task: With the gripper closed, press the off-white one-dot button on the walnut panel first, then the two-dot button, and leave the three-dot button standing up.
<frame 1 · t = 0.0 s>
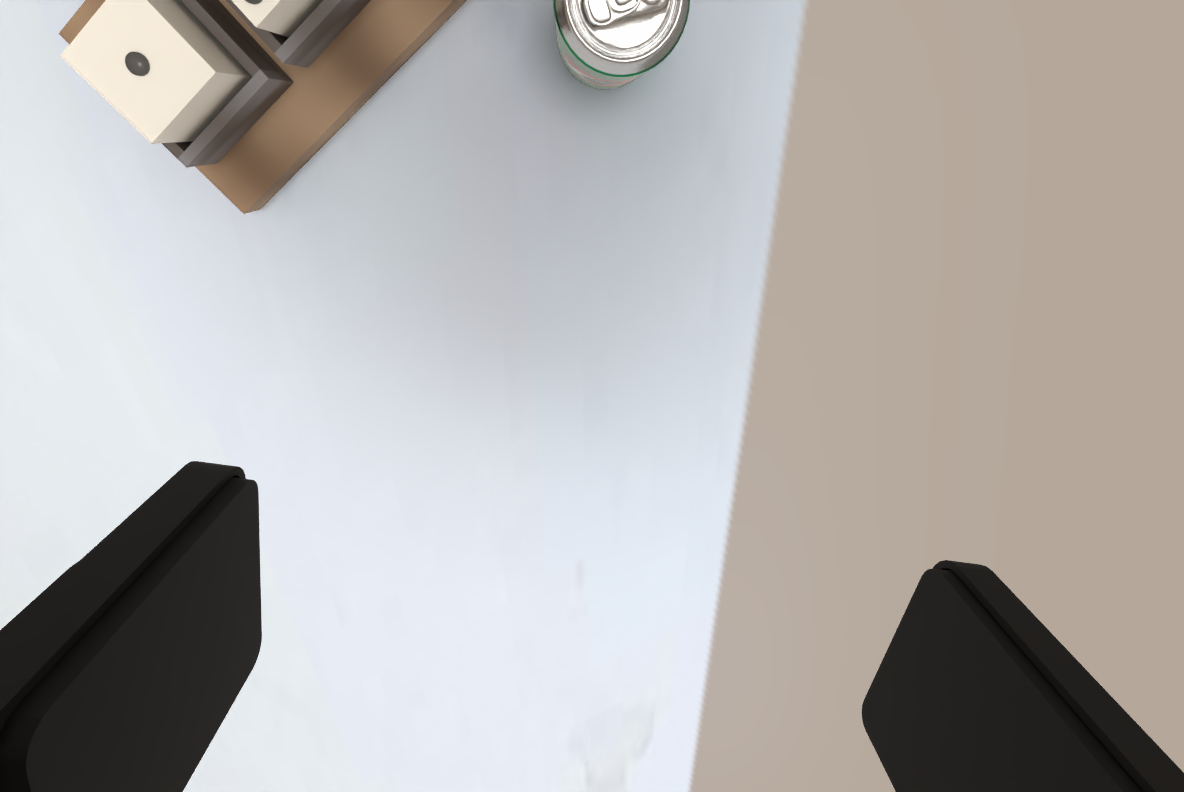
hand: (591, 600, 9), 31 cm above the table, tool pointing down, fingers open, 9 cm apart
soda can: (604, 37, 34), on the table
one dot button: (161, 67, 28), point 6 cm above the table, slide at 0.0 cm
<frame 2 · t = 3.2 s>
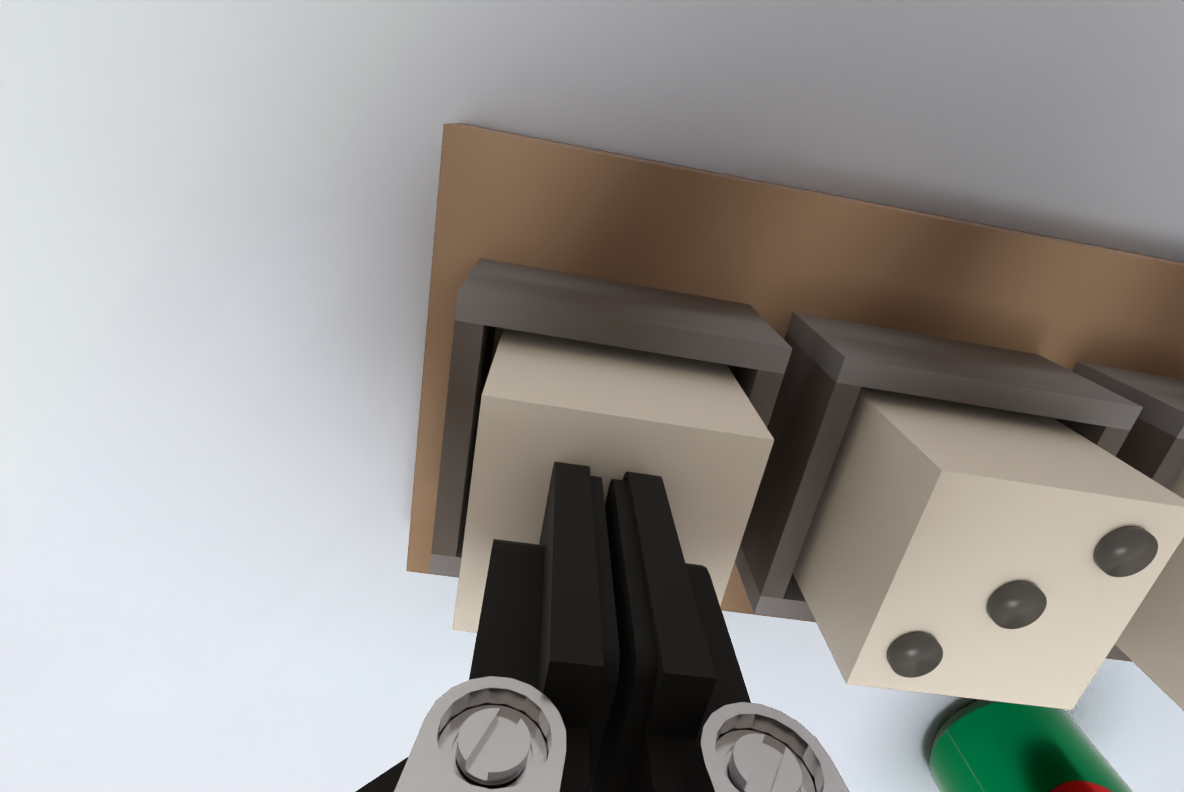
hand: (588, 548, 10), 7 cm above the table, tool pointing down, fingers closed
soda can: (988, 732, 23), on the table
three dot button: (958, 541, 12), point 6 cm above the table, slide at 0.0 cm
button panel: (841, 414, 18), on the table
one dot button: (599, 486, 12), point 6 cm above the table, slide at 0.2 cm, touching gripper
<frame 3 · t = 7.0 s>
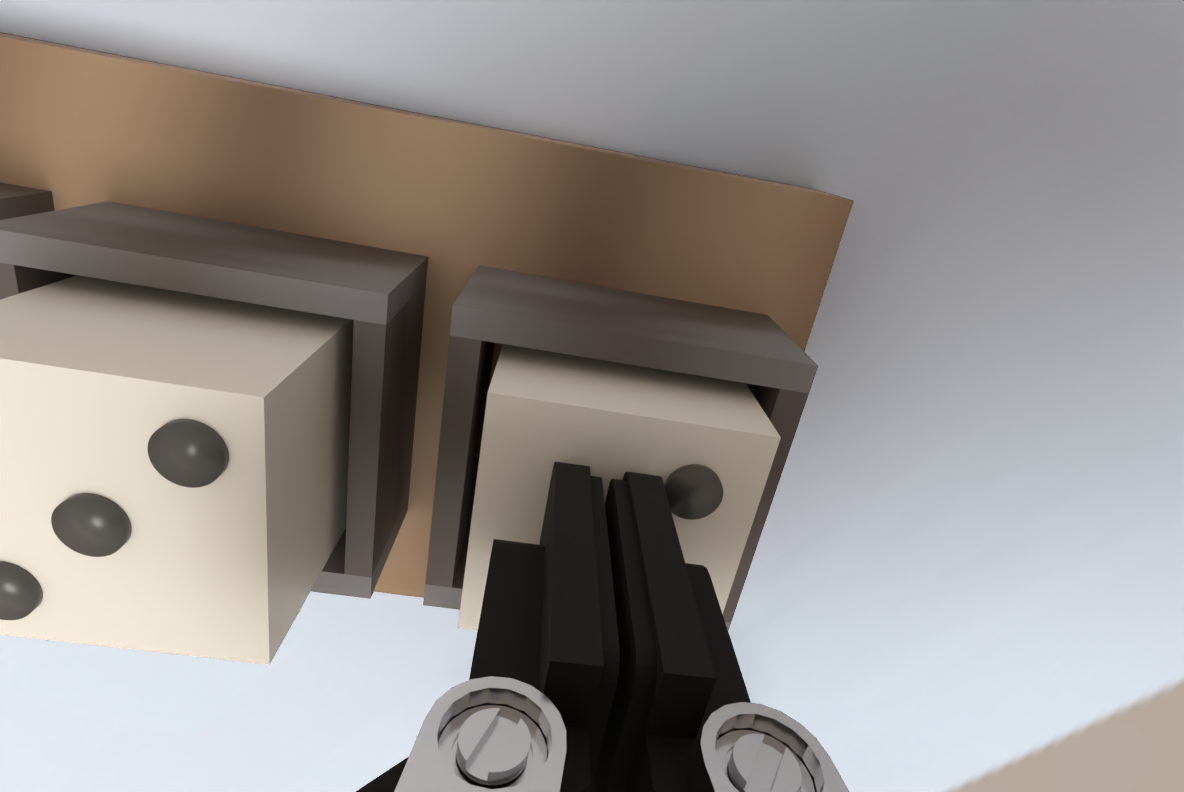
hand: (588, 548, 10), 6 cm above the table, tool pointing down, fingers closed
three dot button: (169, 460, 10), point 6 cm above the table, slide at 0.0 cm
button panel: (309, 342, 15), on the table
two dot button: (604, 483, 12), point 5 cm above the table, slide at 1.2 cm, touching gripper
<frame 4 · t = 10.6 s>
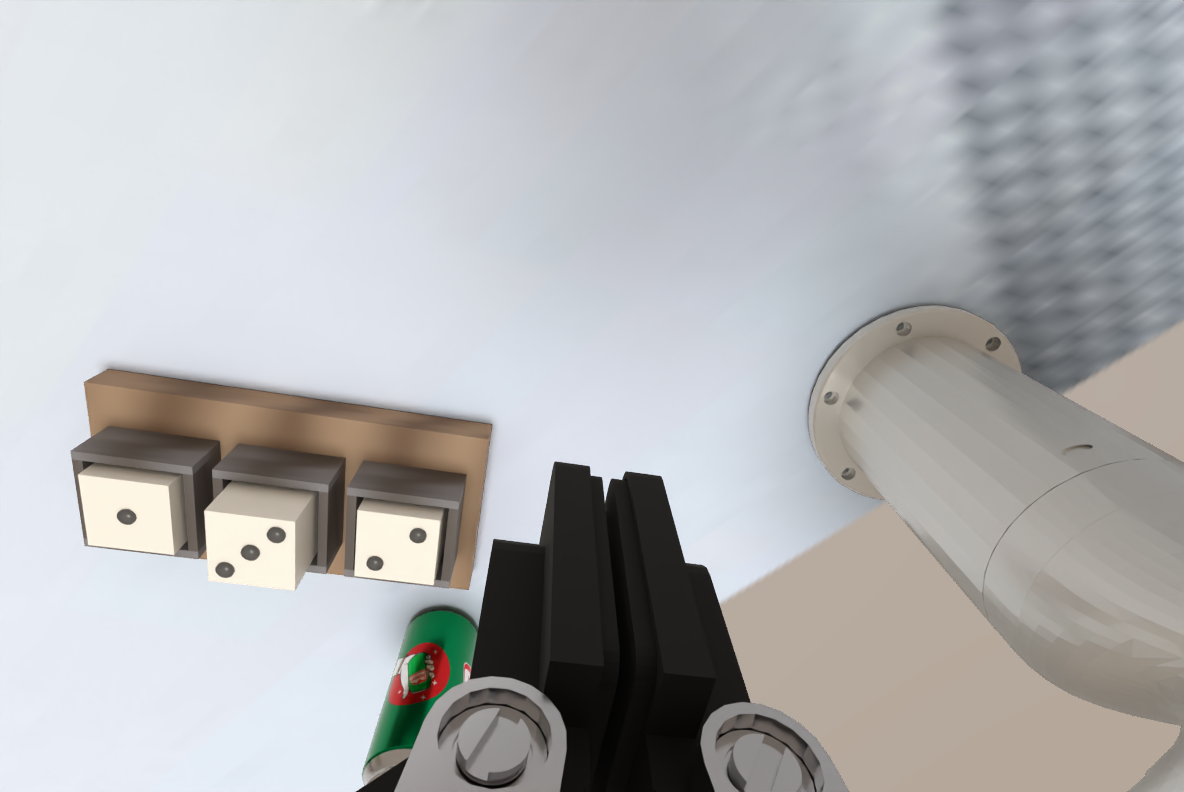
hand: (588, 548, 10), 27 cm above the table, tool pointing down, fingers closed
soda can: (444, 631, 46), on the table
three dot button: (265, 532, 35), point 6 cm above the table, slide at 0.0 cm
button panel: (305, 477, 40), on the table
one dot button: (146, 498, 35), point 4 cm above the table, slide at 1.7 cm
two dot button: (403, 531, 37), point 4 cm above the table, slide at 1.7 cm
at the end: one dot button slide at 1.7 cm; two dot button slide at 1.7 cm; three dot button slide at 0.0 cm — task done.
